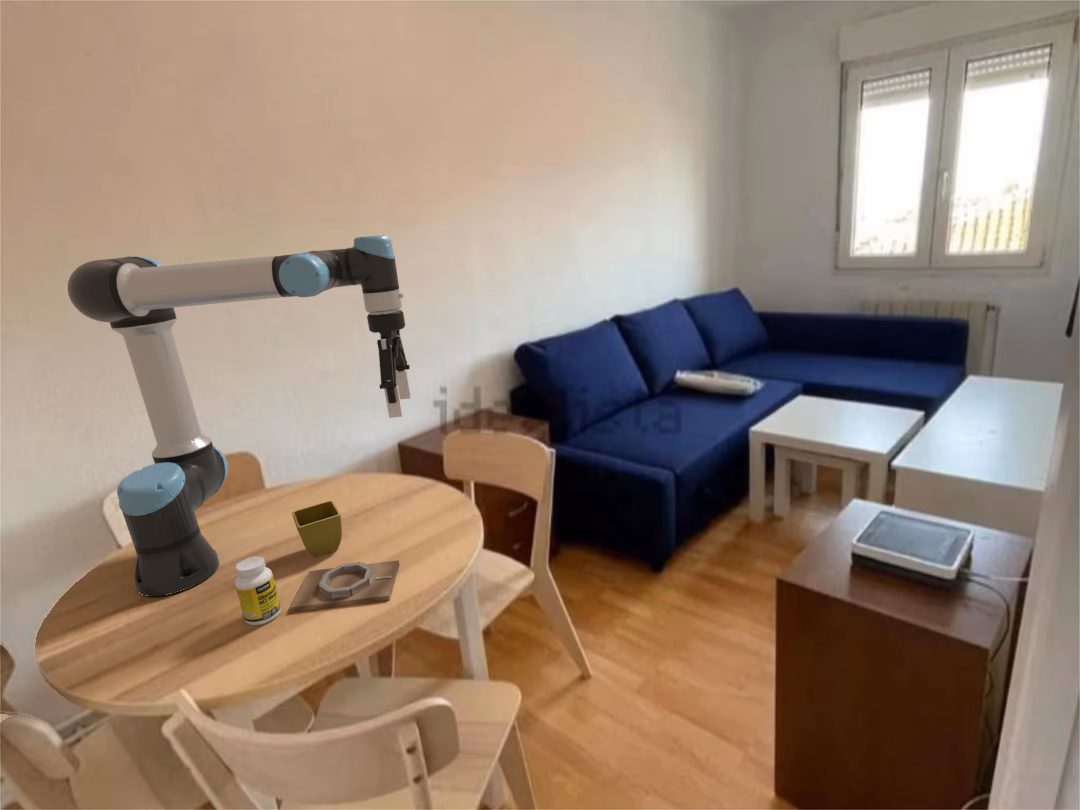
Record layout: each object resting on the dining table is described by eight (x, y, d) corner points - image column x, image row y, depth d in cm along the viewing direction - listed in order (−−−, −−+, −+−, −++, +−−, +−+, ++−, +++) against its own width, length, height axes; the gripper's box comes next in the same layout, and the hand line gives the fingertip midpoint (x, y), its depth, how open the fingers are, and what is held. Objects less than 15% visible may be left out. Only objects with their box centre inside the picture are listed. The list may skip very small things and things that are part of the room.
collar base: (291, 612, 109) (288, 601, 108) (310, 575, 120) (308, 564, 120) (389, 600, 110) (387, 588, 109) (399, 564, 121) (397, 554, 121)
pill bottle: (268, 627, 105) (253, 573, 102) (237, 625, 107) (222, 572, 103) (288, 605, 111) (275, 554, 108) (259, 604, 112) (245, 553, 109)
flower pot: (349, 551, 128) (341, 513, 126) (307, 565, 124) (298, 527, 122) (339, 535, 136) (331, 499, 133) (299, 548, 132) (290, 511, 129)
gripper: (393, 318, 113) (410, 423, 119) (410, 302, 137) (423, 390, 143) (353, 322, 113) (372, 427, 119) (377, 305, 137) (392, 393, 143)
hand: (400, 407), depth 131 cm, fingers open, 13 cm apart
